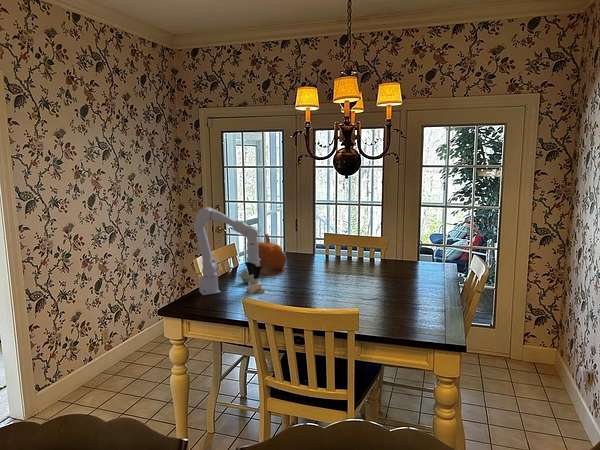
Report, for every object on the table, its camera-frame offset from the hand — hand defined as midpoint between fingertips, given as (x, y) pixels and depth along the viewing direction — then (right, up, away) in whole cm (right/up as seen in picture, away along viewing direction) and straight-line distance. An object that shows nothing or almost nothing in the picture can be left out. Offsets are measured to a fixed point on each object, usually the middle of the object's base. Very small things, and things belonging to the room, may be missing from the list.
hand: (253, 277), depth 229 cm
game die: (-5, -6, +16) cm, 18 cm away
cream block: (+1, -6, +1) cm, 6 cm away
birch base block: (+1, -8, +1) cm, 8 cm away
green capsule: (0, -3, +1) cm, 3 cm away
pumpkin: (+4, -1, +43) cm, 43 cm away
